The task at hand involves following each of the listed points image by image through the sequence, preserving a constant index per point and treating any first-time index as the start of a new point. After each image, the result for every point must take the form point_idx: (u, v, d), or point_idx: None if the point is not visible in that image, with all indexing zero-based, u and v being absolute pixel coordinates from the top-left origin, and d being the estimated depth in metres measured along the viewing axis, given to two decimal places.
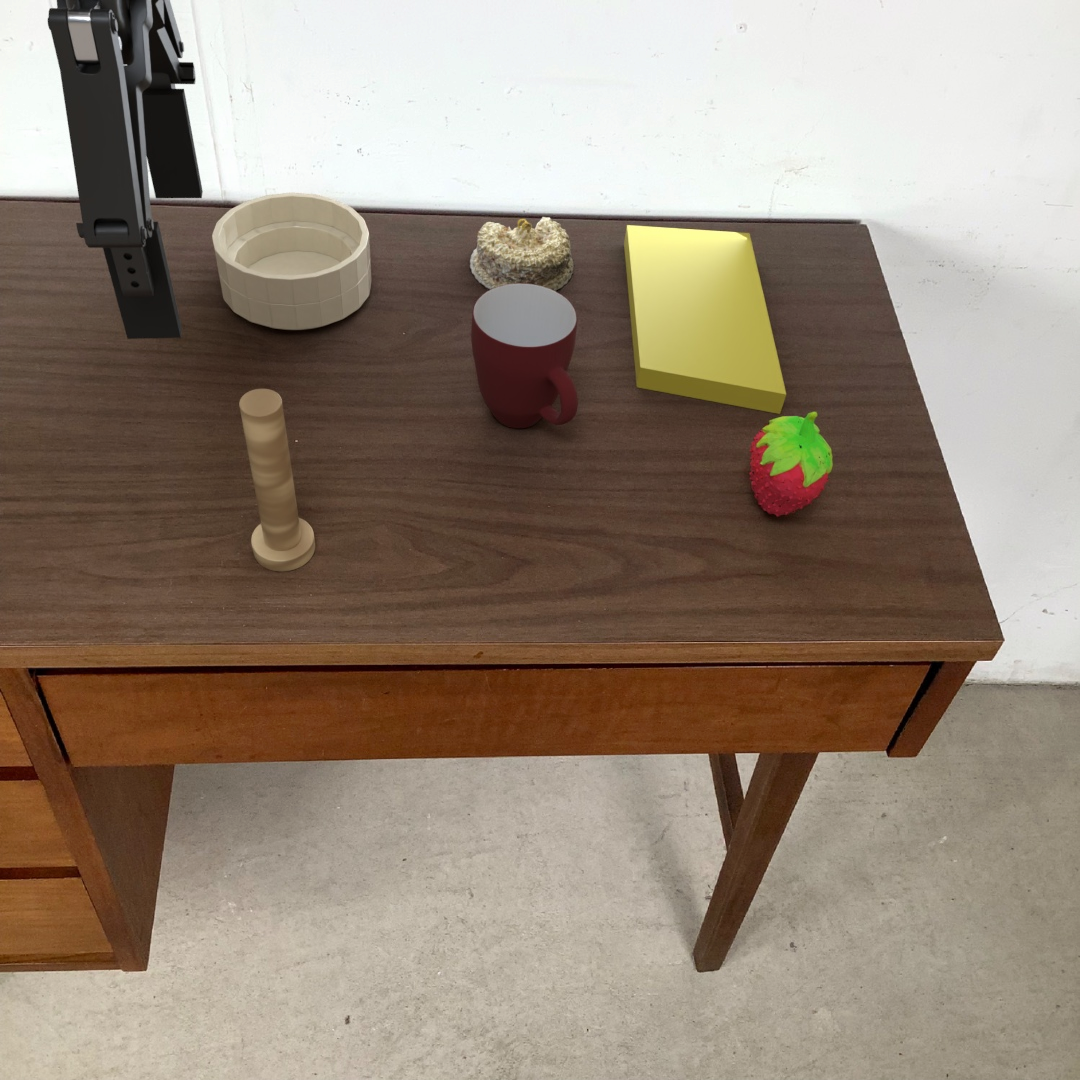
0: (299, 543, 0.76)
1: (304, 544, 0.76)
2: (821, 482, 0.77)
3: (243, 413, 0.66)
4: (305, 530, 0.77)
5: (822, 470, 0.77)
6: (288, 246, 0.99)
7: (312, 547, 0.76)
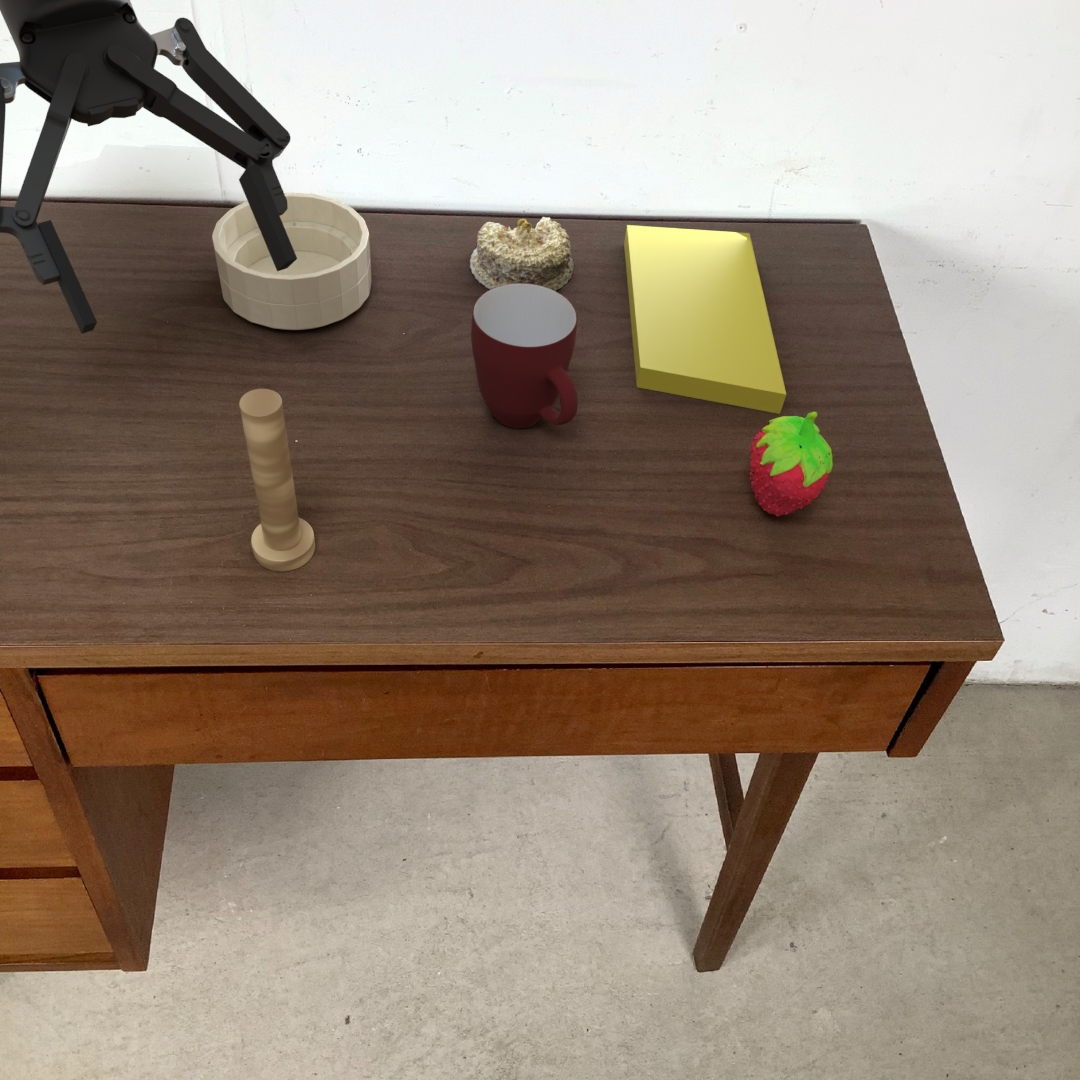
0: (299, 543, 0.76)
1: (304, 544, 0.76)
2: (821, 482, 0.77)
3: (243, 413, 0.66)
4: (305, 530, 0.77)
5: (822, 470, 0.77)
6: None
7: (312, 547, 0.76)
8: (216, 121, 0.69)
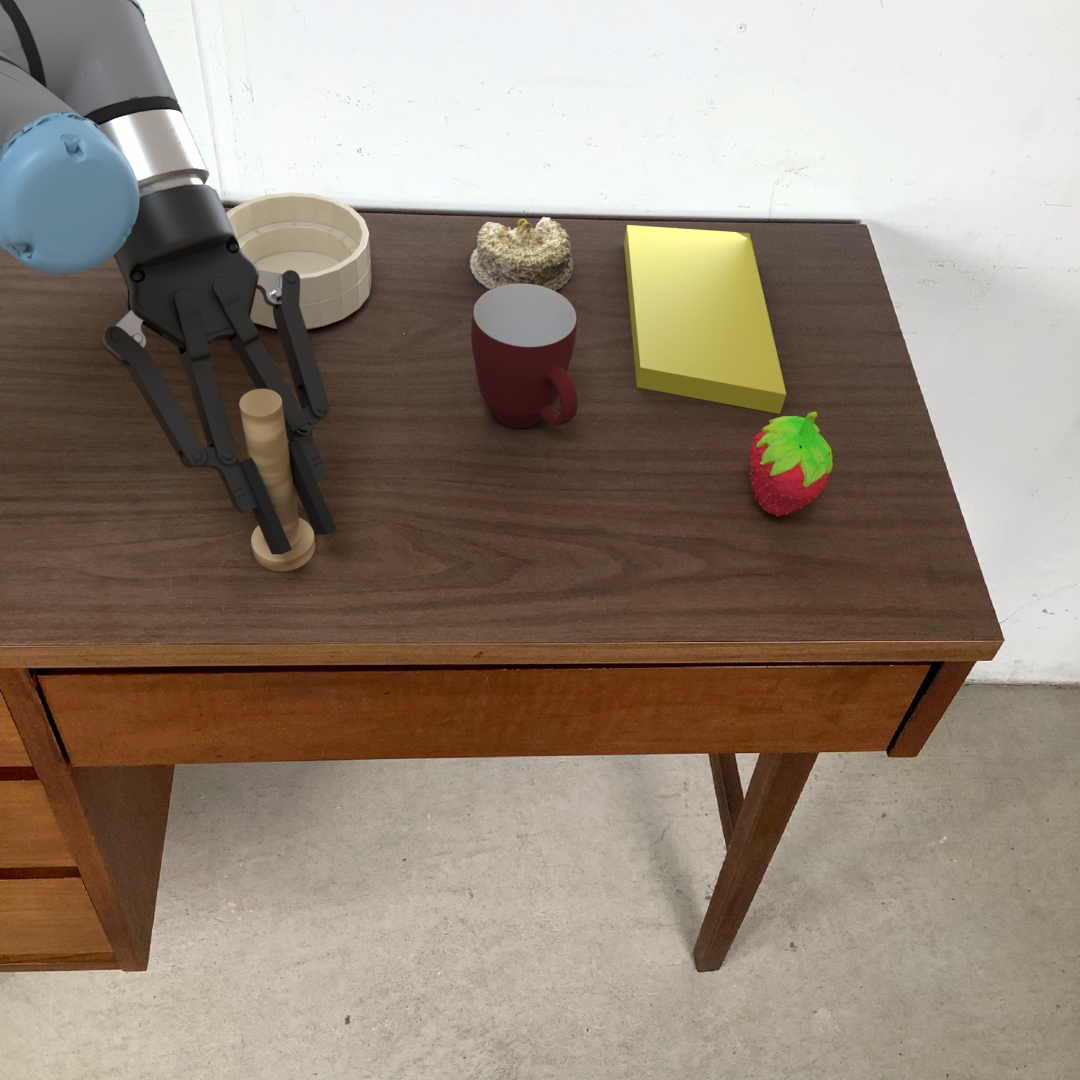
0: (299, 543, 0.76)
1: (304, 544, 0.76)
2: (821, 482, 0.77)
3: (243, 413, 0.66)
4: (305, 530, 0.77)
5: (822, 470, 0.77)
6: (288, 246, 0.99)
7: (312, 547, 0.76)
8: (277, 381, 0.70)
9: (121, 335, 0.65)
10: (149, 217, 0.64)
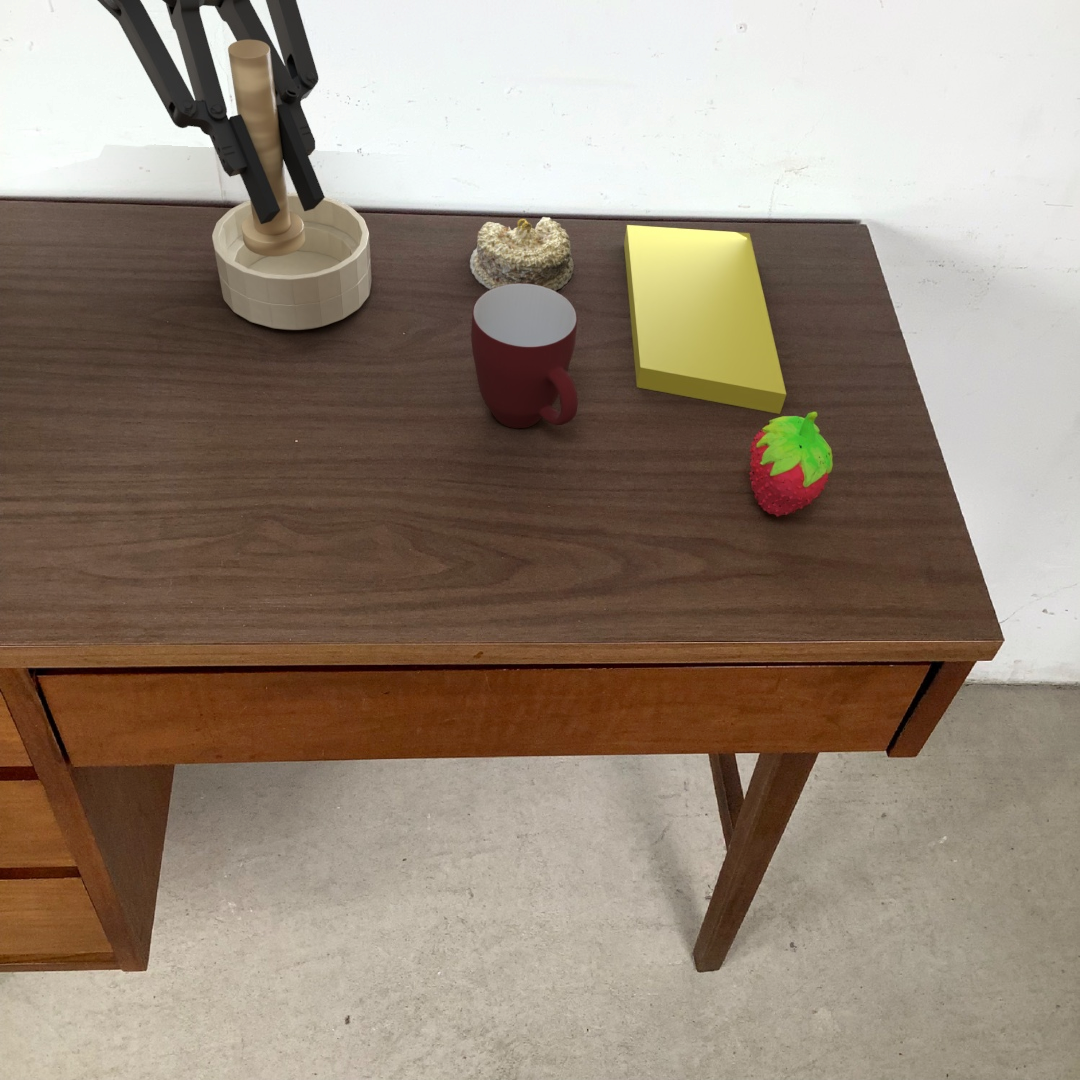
0: (289, 230, 0.77)
1: (293, 231, 0.77)
2: (821, 482, 0.77)
3: (232, 56, 0.67)
4: (295, 220, 0.78)
5: (822, 470, 0.77)
6: None
7: (301, 235, 0.77)
8: None
9: None
10: None
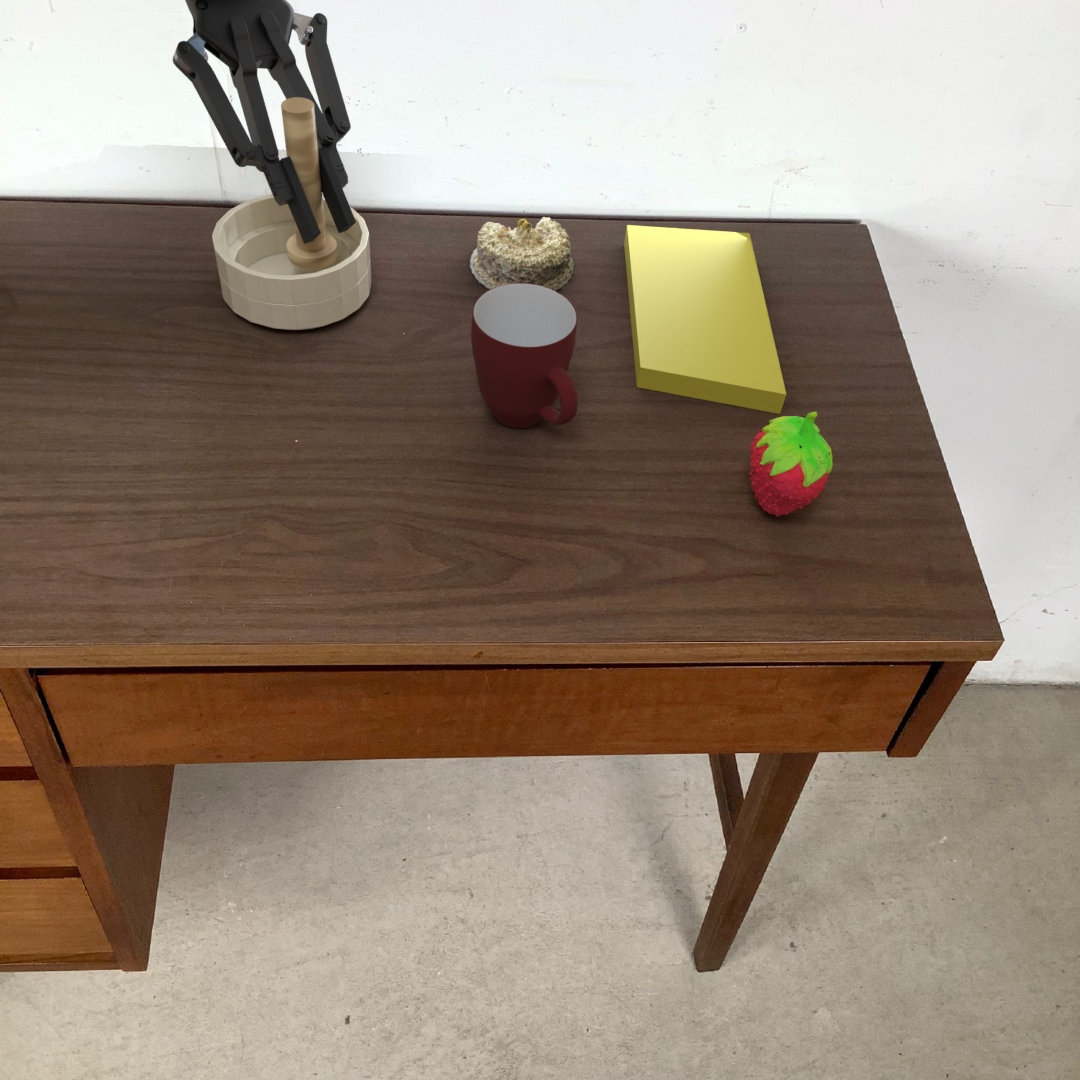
0: (325, 247, 0.94)
1: (329, 248, 0.94)
2: (821, 482, 0.77)
3: (284, 111, 0.84)
4: (329, 240, 0.95)
5: (822, 470, 0.77)
6: None
7: (335, 252, 0.95)
8: (309, 99, 0.88)
9: (189, 48, 0.84)
10: None
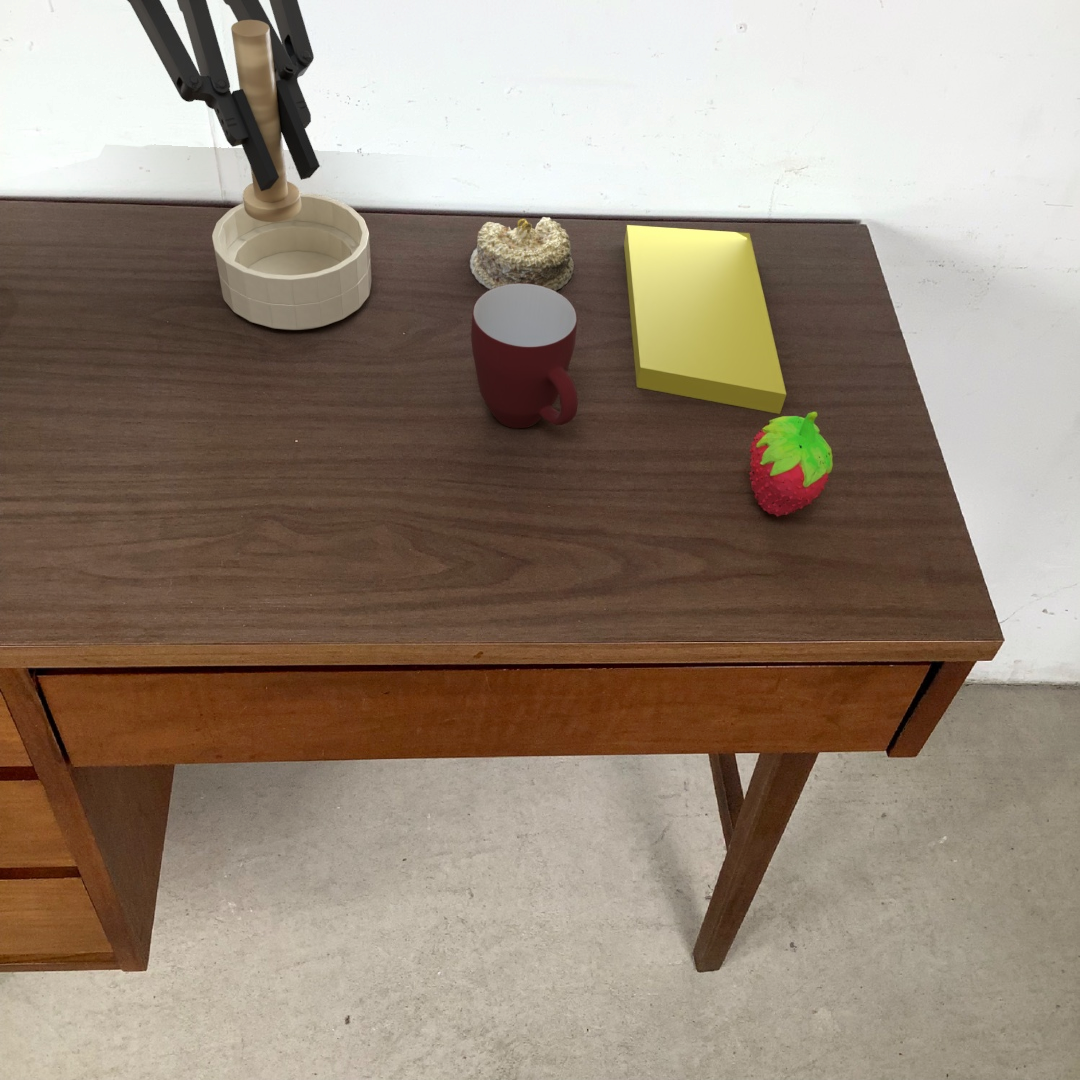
0: (286, 197, 0.83)
1: (291, 198, 0.83)
2: (821, 482, 0.77)
3: (234, 35, 0.74)
4: (292, 189, 0.84)
5: (822, 470, 0.77)
6: (288, 246, 0.99)
7: (298, 203, 0.84)
8: None
9: None
10: None
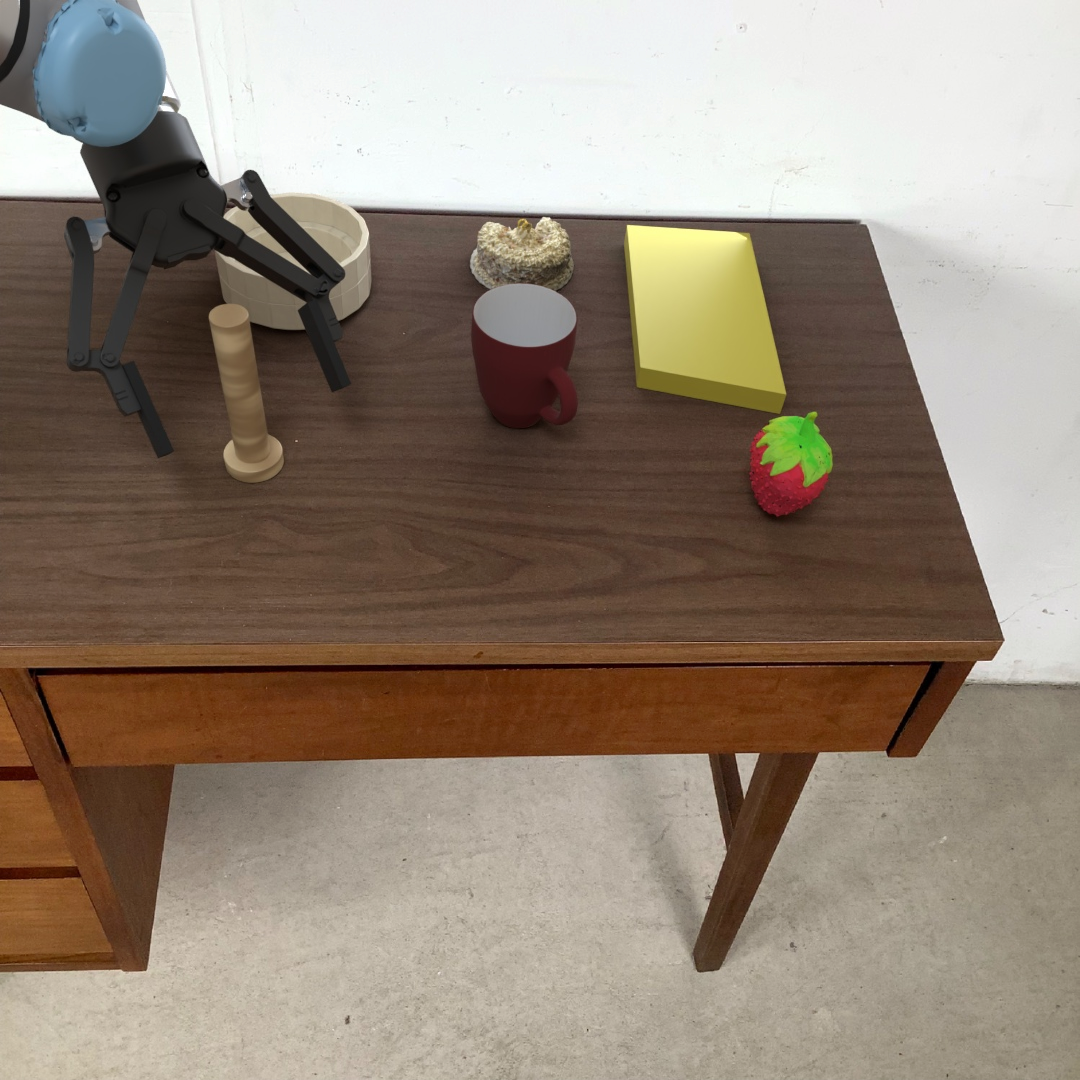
0: (268, 456, 0.81)
1: (273, 457, 0.81)
2: (821, 482, 0.77)
3: (212, 324, 0.71)
4: (274, 445, 0.82)
5: (822, 470, 0.77)
6: None
7: (280, 461, 0.82)
8: (279, 262, 0.76)
9: (81, 228, 0.70)
10: None
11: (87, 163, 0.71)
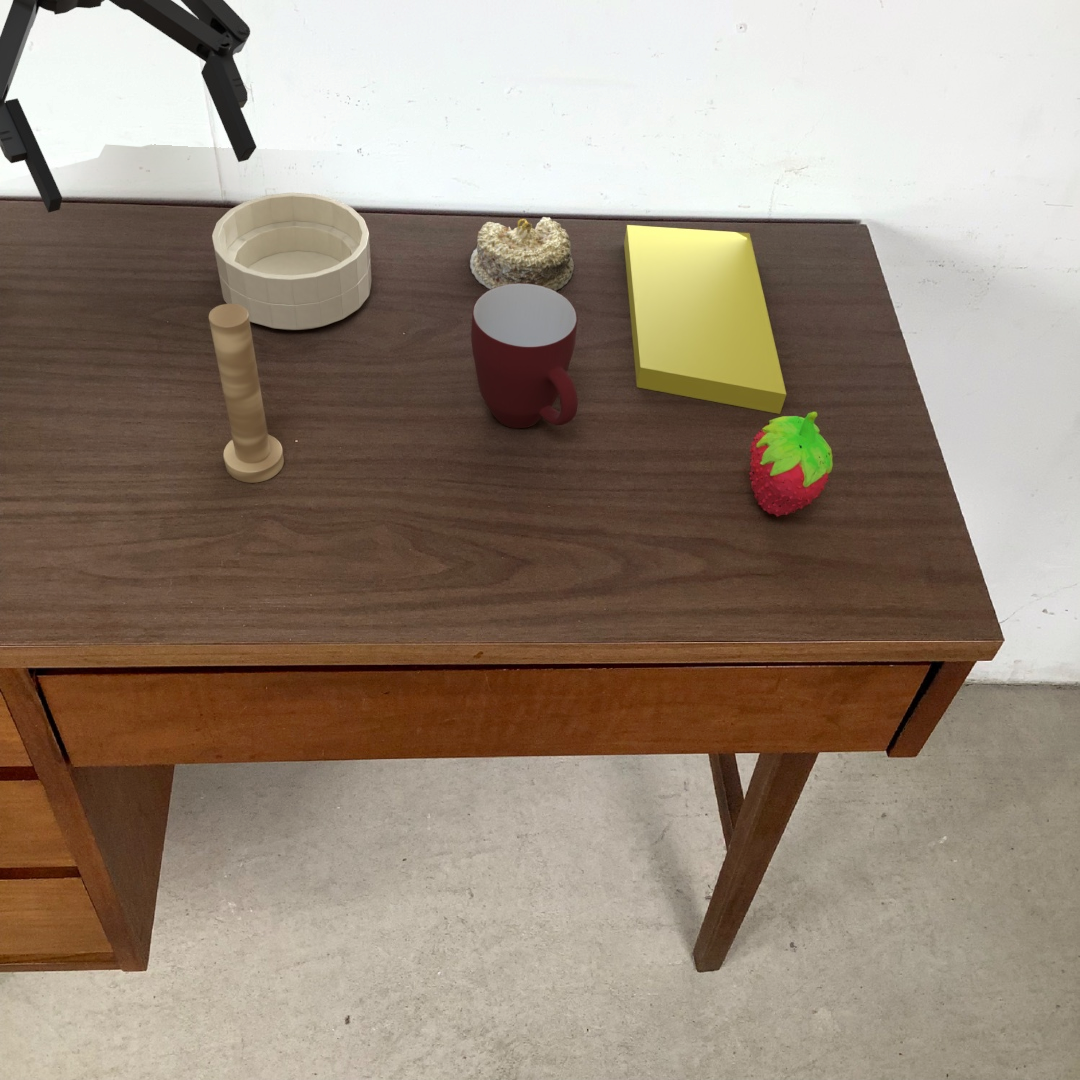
0: (268, 456, 0.81)
1: (273, 457, 0.81)
2: (821, 482, 0.77)
3: (212, 324, 0.71)
4: (274, 445, 0.82)
5: (822, 470, 0.77)
6: (288, 246, 0.99)
7: (280, 461, 0.82)
8: (178, 12, 0.73)
9: None
10: None
11: None
